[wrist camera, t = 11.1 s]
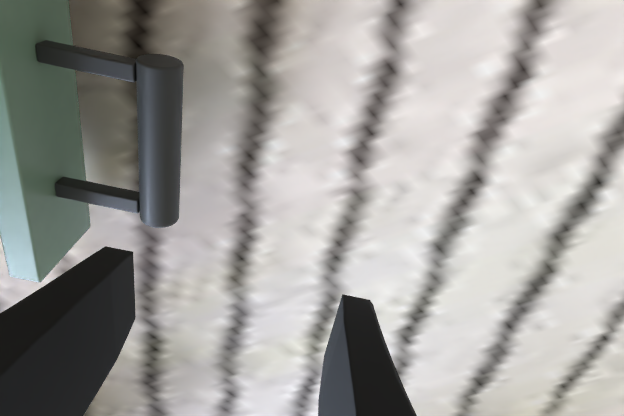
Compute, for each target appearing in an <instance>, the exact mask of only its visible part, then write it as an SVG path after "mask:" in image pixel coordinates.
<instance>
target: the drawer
mask: <svg viewBox="0 0 624 416" xmlns="http://www.w3.org/2000/svg"><path fill="white" fill-rule="evenodd" d="M183 69H184V65H183V63H182V61H181V60H179V59H177V58H174V57H171V56H168V55H162V54H146V55H142V56H139V57H138V58H137V59H134V58H129V57H124V56H119V55H115V54H110V53H105V52H100V51H96V50H91V49H86V48H82V47H77V46H73V41H72V31H71V20H70V10H69V0H0V236H1V240H2V244H3V249H4V253H5V257H6V262H7V266H8V271H9V275H10V276H11V277H15V278H20V279H25V280H30V281H35V282H41V281H42V280H43V279H44V278H45V277H46V276H47V275H48V273H49V272H50V271H51V270H52V269H53V268H54V267H55V266H56V265H57V263H58V262H59V261H60V260H61V259H62V258H63V257H64V256H65V254H66V253H67V252H68V251H69V250H70V249H71V248H72V247H73V246H74V244H75V243H76V242H77V241H78V240H79V239H80V238H81V237H82V236H83V234H84V233H85V232H86V231H87V230H88V229H89V228H90V217H89V206H88V203H90V204H95V205H99V206H104V207H109V208H114V209H119V210H124V211H129V212H134V213H139V211H140V218H141V220H142V222H143V223H144V224H146V225H148V226H150V227H155V228H164V227H168V226H171V225H173V224H175V223H176V222H177V220H178V218H179V198H180V166H181V133H182V101H183ZM75 70H78V71H82V72H87V73H92V74H97V75H101V76H106V77H111V78H116V79H120V80H125V81H130V82H135V81H137V115H138V156H139V192H137V191H132V190H127V189H122V188H117V187H112V186H107V185H103V184H98V183H93V182H88V181H86V175H85V165H84V155H83V144H82V134H81V124H80V113H79V103H78V93H77V82H76V72H75Z"/></svg>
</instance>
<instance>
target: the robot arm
mask: <svg viewBox="0 0 624 416" xmlns="http://www.w3.org/2000/svg"><path fill="white" fill-rule="evenodd" d="M134 320H135V293H134V266H133V252H130V251H125V250H121V249H116V248H111V247H106V246H105V247H104V248H102V249H101V250H99V251H98V252H96V253H94V254H93V255H91V256H90V257H88V258H87V259H85V260H83V261H82V262H80V263H79V264H77V265H76V266H74V267H73V268H71V269H70V270H68V271H67V272H65V273H64V274H62V275H61V276H59V277H58V278H56V279H54V280H53V281H51V282H50V283H48V284H47V285H45V286H44V287H42V288H40V289H39V290H37V291H36V292H34V293H33V294H31V295H29V296H28V297H26V298H25V299H23V300H21V301H20V302H18V303H17V304H15V305H13V306H12V307H10V308H9V309H7V310H5V311H4V312H2V313H0V416H83V415H84V414H85V412H86V410H87V409H88V407H89V405H90V404H91V402H92V400H93V399H94V397H95V396H96V394H97V392H98V391H99V389H100V387H101V386H102V384H103V382H104V380H105V379H106V377H107V375H108V374H109V372H110V370H111V369H112V367H113V365H114V364H115V362H116V360H117V358H118V356H119V354H120V352H121V349H122V347H123V345H124V343H125V341H126V338H127V336H128V334H129V332H130V329H131V327H132V325H133V322H134ZM318 416H417V415H416V413H415V411H414V409H413V407H412V405H411V403H410V400H409V398H408V396H407V394H406V392H405V389H404V387H403V385H402V382H401V380H400V378H399V375H398V373H397V371H396V368H395V366H394V363H393V361H392V358H391V356H390V353H389V351H388V348H387V345H386V343H385V340H384V337H383V334H382V331H381V329H380V326H379V323H378V319H377V316H376V313H375V310H374V306H373V304H372V303H371V301H370V300H367V299H362V298H357V297H352V296H347V295H342V298H341V301H340V305H339V308H338V311H337V315H336V318H335V321H334V325H333V328H332V331H331V335H330V338H329V342H328V345H327V348H326V352H325V355H324V362H323V369H322V377H321V385H320V394H319V408H318Z"/></svg>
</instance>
